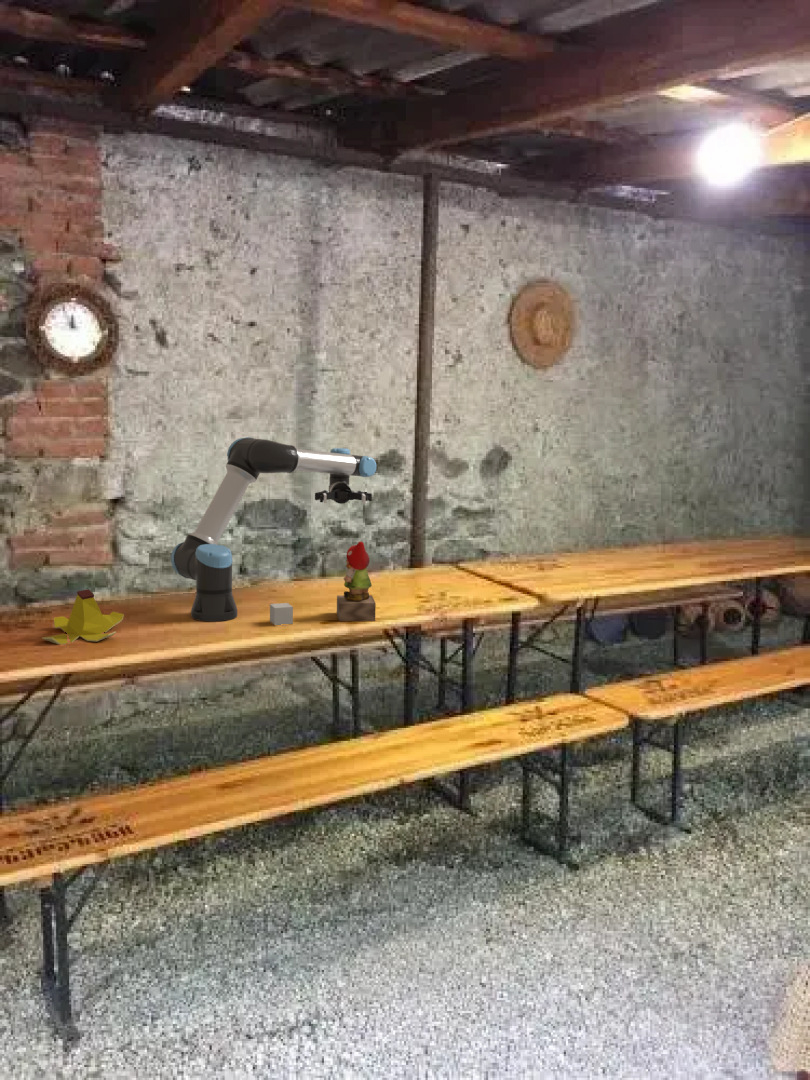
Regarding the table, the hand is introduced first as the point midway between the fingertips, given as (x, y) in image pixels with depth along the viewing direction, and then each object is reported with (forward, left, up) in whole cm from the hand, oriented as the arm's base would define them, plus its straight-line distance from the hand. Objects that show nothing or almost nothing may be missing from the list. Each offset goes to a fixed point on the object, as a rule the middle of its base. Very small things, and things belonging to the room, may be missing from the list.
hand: (345, 499), depth 340 cm
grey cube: (-22, -25, -38) cm, 50 cm away
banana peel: (-82, -37, -38) cm, 97 cm away
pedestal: (+3, -17, -38) cm, 41 cm away
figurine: (+3, -16, -32) cm, 36 cm away
